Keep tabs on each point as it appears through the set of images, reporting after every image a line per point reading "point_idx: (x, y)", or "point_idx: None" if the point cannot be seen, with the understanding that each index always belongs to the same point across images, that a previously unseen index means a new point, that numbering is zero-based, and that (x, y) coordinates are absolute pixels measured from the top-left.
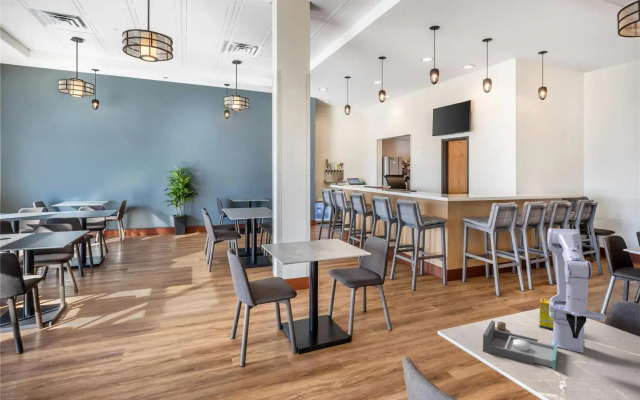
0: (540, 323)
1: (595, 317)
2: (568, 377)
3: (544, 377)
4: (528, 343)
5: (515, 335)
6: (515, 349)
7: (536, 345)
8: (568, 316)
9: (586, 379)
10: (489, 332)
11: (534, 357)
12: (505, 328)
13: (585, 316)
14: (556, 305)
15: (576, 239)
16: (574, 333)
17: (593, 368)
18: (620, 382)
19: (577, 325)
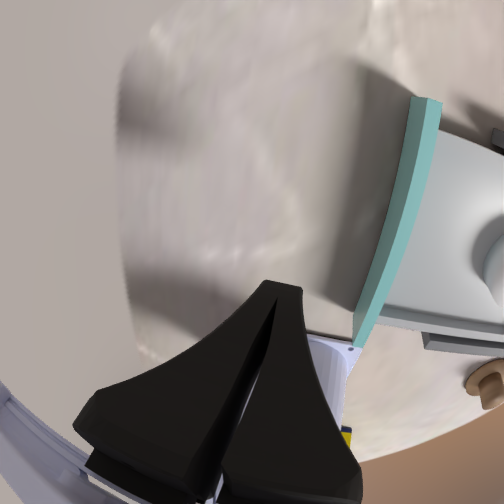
0: (348, 438)
1: (25, 433)
2: (354, 45)
3: (455, 11)
4: (496, 283)
5: (494, 347)
6: None
7: (437, 312)
8: None
9: (271, 65)
10: None
11: (502, 155)
12: (483, 387)
13: (96, 478)
14: None
15: None
16: (282, 310)
17: (230, 204)
18: (149, 125)
19: (220, 383)
